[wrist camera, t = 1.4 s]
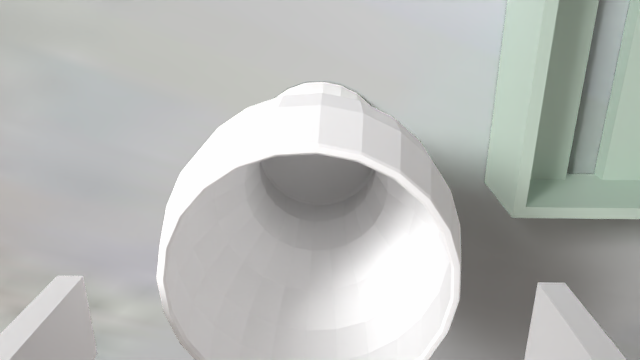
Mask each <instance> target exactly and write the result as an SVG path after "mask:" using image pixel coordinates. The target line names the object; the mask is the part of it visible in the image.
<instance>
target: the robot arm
mask: <svg viewBox="0 0 640 360" xmlns="http://www.w3.org/2000/svg"><path fill="white" fill-rule="evenodd" d="M97 354H98V353H97V348H96V342H95V337H94V331H93V326H92V321H91V315H90V310H89V304H88V299H87V294H86V288H85V283H84V277H83V276H56V277H55V278H54V279H53V280H52V281H51V283H50V284H49V285H48V286H47V287H46V288H45V289H44V290H43V291H42V292H41V293H40V294H39V295H38V296H37V297H36V298H35V299H34V300H33V301H32V302H31V303H30V304H29V305H28V306H27V307H26V308H25V309H24V310H23V311H22V312H21V313H20V314H19V315H18V316H17V317H16V318H15V319H14V320H13V321H12V322H11V324H10V325H9V326H8V327H7V328H6V329H5V330H4V331H3V332H2V333H1V334H0V360H94V358H95V357H96V355H97ZM524 360H627V359H626V358H625V357H624V356H623V354H622V353H621V352H620V351H619V349H618V348H617V347H616V346H615V344H614V343H613V342H612V341H611V339H610V338H609V337H608V336H607V335H606V333H605V332H604V331H603V330H602V328H601V327H600V326H599V325H598V323H597V322H596V321H595V320H594V318H593V317H592V316H591V315H590V313H589V312H588V311H587V310H586V308H585V307H584V306H583V305H582V303H581V302H580V301H579V300H578V298H577V297H576V296H575V295H574V293H573V292H572V291H571V290H570V288H569V287H568V286H567V285H566V283H551V282H538V284H537V290H536V295H535V301H534V307H533V313H532V318H531V324H530V330H529V335H528V341H527V347H526V353H525V358H524Z"/></svg>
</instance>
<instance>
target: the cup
mask: <svg viewBox="0 0 640 360" xmlns="http://www.w3.org/2000/svg"><path fill="white" fill-rule="evenodd" d="M156 279H157V283H158V288H159V293H160V298H161V303H162V307H163V312H164V314H165V316H166V318H167V320H168V322H169V323H170V325H171V327H172V329H173V331H174V333H175V335H176V337H177V339H178V340H179V342H180V344H181V345H182V346H183V347H184V348H185V349H186V350H187V351H188V353H189V354H190V355H191V356H192V357H193V358H194V359H195V360H429V358H430V357H431V355H432V354H433V353H434V351H435V350H436V348H437V347H438V346H439V344H440V343H441V341H442V340H443V339H444V337H445V336H446V334H447V333H448V332H449V329H450V326H451V323H452V321H453V318H454V315H455V312H456V309H457V306H458V304H459V301H460V288H461V226H460V222H459V218H458V215H457V211H456V207H455V204H454V200H453V196H452V192H451V190H450V188H449V187H448V185H447V183H446V182H445V180H444V178H443V177H442V175H441V173H440V172H439V170H438V169H437V167H436V165H435V164H434V162H433V161H432V159H431V157H430V156H429V154H428V152H427V151H426V149H425V148H424V146H423V144H422V143H421V141H419V140H418V139H417V138H416V137H415V136H414V135H413V134H412V133H411V132H409V131H408V130H407V129H406V128H405V127H404V126H403V125H402V124H401V123H399V122H398V121H397V120H396V119H395V118H394V117H392V116H390V115H388V114H386V113H384V112H382V111H380V110H378V109H376V108H374V107H372V106H371V105H370V104H369V103H367V102H366V101H365V100H364V99H363V98H362V97H361V96H360V95H358V94H357V93H355V92H353V91H351V90H349V89H347V88H345V87H343V86H341V85H337V84H332V83H327V82H313V83H304V84H301V85H298V86H295V87H292V88H289V89H287V90H286V91H284V92H283V93H282V94H280V95H279V96H277V97H276V98H274V99H271V100H268V101H265V102H262V103H259V104H256V105H253V106H250V107H247V108H246V109H245V110H243V111H242V112H240V113H239V114H237V115H236V116H234V117H233V118H231V119H230V120H228V121H227V122H225V123H224V124H222V125H221V126H220V127H218V128H217V129H216V130H215V132H214V133H213V134H212V135H211V136H210V138H209V139H208V140H207V141H206V142H205V144H204V145H203V146H202V147H201V148H200V150H199V151H198V152H197V153H196V154H195V156H194V157H193V158H192V159H191V160H190V162H189V163H188V164H187V165H186V166H185V168H184V169H183V170H182V171H181V173H180V175H179V177H178V180H177V182H176V184H175V187H174V189H173V191H172V194H171V196H170V199H169V201H168V203H167V206H166V211H165V217H164V223H163V228H162V234H161V240H160V246H159V257H158V267H157V278H156Z"/></svg>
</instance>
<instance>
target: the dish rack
mask: <svg viewBox="0 0 640 360" xmlns="http://www.w3.org/2000/svg"><path fill="white" fill-rule="evenodd" d="M598 4H599V0H507V6H506V13H505V21H504V29H503V37H502V45H501V53H500V61H499V69H498V77H497V85H496V93H495V101H494V109H493V117H492V124H491V132H490V140H489V148H488V156H487V164H486V172H485V180H484V183H485V184H486V185H487V187H488V188H489V189H490V190H491V192H492V193H493V194H494V195H495V197H496V198H497V199H498V201H499V202H500V203H501V204H502V206H503V207H504V208H505V209H506V211H507V212H508V213H509V215H510V216H511V217H512V218H569V219H640V0H630V3H629V8H628V13H627V17H626V22H625V27H624V32H623V37H622V41H621V46H620V51H619V56H618V61H617V65H616V70H615V75H614V80H613V85H612V90H611V94H610V99H609V104H608V109H607V114H606V118H605V123H604V128H603V133H602V138H601V142H600V147H599V152H598V157H597V162H596V166H595V171H594V174H567V169H568V164H569V158H570V153H571V148H572V142H573V137H574V132H575V126H576V121H577V116H578V110H579V105H580V100H581V94H582V89H583V84H584V78H585V73H586V68H587V62H588V57H589V52H590V46H591V41H592V36H593V30H594V25H595V20H596V14H597V9H598Z"/></svg>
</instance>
